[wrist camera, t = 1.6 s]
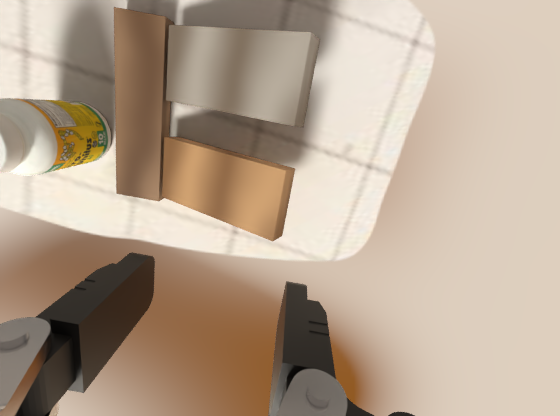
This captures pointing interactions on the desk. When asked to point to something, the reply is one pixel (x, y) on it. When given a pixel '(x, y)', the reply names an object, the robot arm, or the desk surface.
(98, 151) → the supplement bottle
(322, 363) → the robot arm
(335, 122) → the desk surface
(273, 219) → the chestnut plank
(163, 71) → the walnut panel
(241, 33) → the grey ash plank
